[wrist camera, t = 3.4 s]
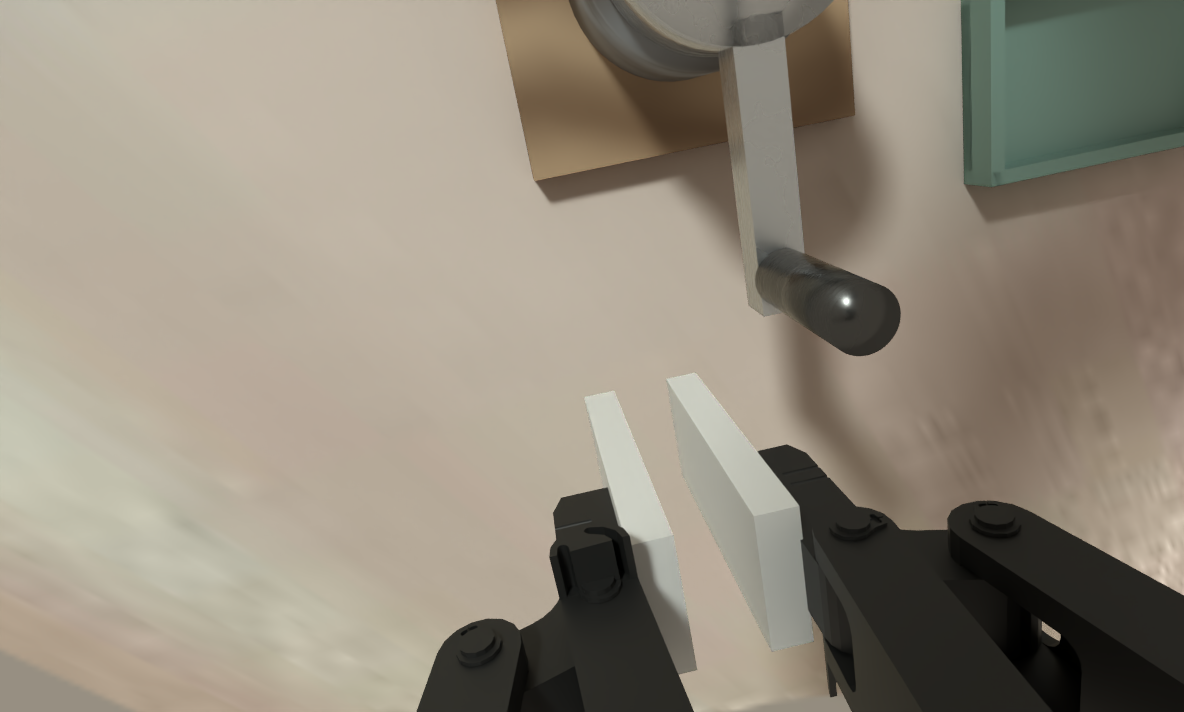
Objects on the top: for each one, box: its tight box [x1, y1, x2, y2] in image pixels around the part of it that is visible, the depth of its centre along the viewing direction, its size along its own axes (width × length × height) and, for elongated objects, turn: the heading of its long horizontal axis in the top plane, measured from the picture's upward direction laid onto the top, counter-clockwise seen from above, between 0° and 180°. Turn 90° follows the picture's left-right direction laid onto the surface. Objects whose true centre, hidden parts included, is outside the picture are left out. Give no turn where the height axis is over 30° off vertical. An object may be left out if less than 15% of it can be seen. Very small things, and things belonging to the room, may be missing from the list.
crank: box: [611, 0, 901, 356], centre depth 25 cm, size 20×10×11 cm, turn 11°
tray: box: [961, 0, 1184, 187], centre depth 39 cm, size 11×16×2 cm
